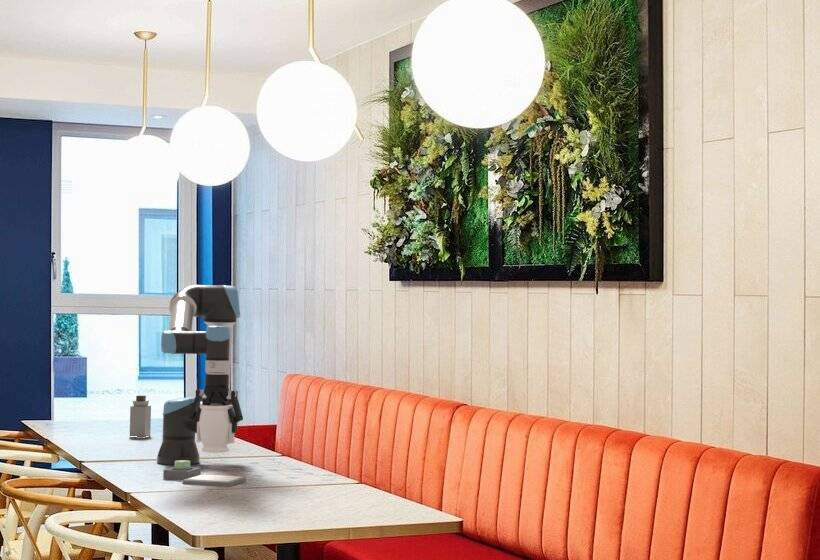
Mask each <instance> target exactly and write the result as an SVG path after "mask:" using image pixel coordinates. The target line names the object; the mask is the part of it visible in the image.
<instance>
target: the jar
mask: <svg viewBox="0 0 820 560" xmlns="http://www.w3.org/2000/svg"><path fill="white" fill-rule="evenodd" d="M200 408H201V414H200V419H199V429H200V436H201V444H202V445H203V447H202V449H201V452H204V453H213V454H214V453H218V454H219V453H226V452H227V453H228V452H229V448H228V445H229V423H231V420H230V418H229V415H228V409H232V408H233V406H232V405H226V406H223V405H222V404H210V405H209V406H207V405H203V404H202V405H200Z"/></svg>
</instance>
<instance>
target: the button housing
mask: <svg viewBox="0 0 820 560" xmlns="http://www.w3.org/2000/svg"><path fill="white" fill-rule="evenodd" d="M198 475H202V468H201V467H193V466H190V470H187V471H185V470H175V466H173V467H170V468H165V469H163V475H162V477H163V478H162V479H163V480H173V481H174V480H175V481H183V480H185V479H188V478H192V477H195V476H198Z"/></svg>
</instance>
